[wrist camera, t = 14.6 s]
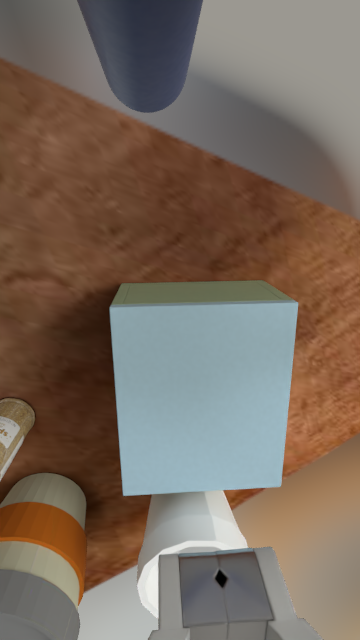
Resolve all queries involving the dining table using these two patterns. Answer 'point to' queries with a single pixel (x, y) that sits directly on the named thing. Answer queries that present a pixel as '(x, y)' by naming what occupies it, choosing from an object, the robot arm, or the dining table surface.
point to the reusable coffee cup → (42, 558)
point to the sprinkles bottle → (13, 429)
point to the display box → (197, 292)
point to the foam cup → (183, 534)
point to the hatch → (202, 394)
